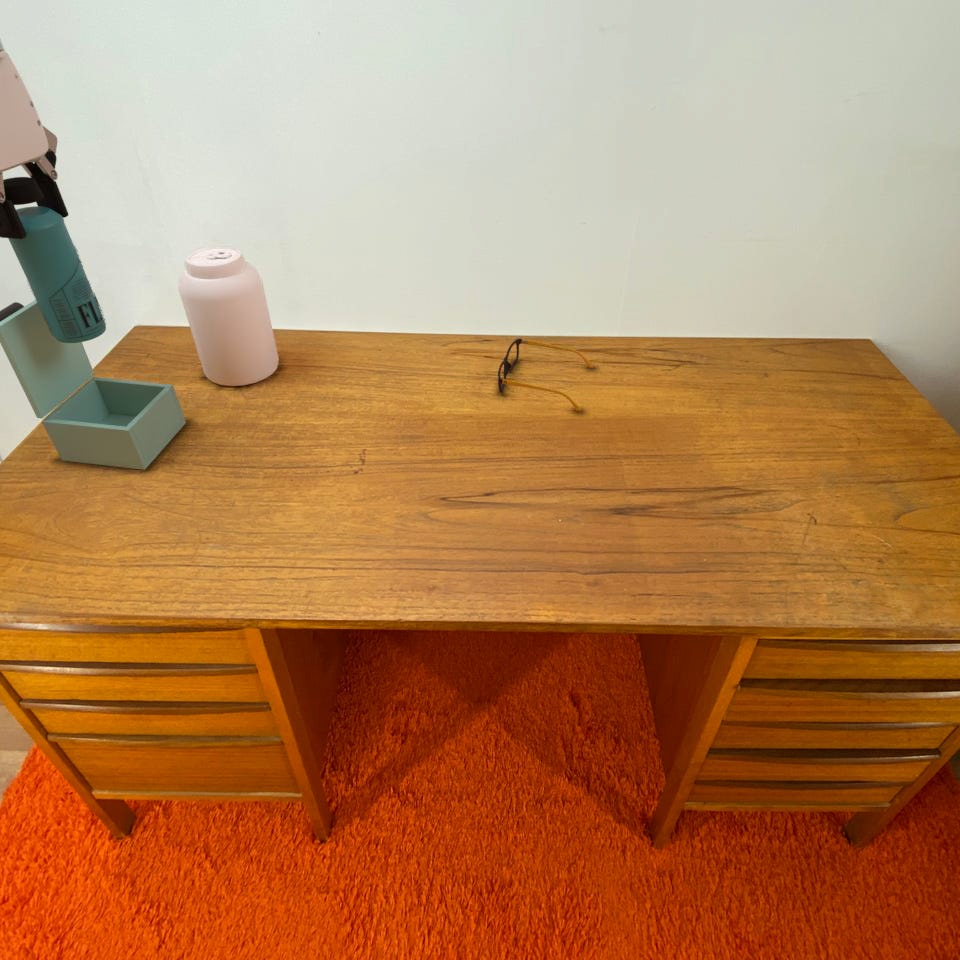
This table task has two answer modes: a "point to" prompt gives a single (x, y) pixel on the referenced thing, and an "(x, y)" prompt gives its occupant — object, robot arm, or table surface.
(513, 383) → the eyeglasses
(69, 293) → the beverage bottle
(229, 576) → the table surface
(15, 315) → the lid
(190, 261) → the can
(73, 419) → the cool box
